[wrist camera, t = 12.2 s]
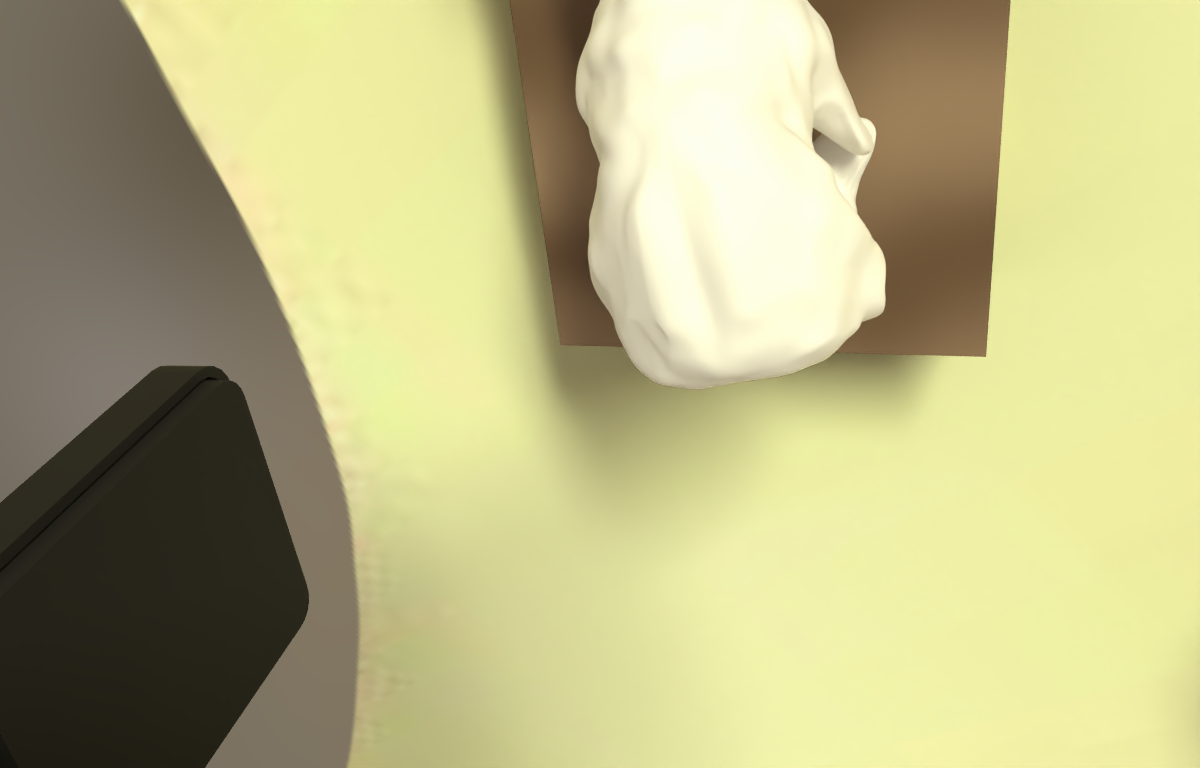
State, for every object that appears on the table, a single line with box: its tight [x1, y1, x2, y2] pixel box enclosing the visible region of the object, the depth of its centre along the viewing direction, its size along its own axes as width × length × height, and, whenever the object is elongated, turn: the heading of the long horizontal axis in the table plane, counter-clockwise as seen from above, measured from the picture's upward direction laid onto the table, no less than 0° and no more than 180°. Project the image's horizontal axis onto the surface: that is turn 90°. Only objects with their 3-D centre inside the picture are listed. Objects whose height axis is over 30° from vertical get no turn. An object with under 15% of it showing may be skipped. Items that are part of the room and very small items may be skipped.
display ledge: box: [510, 0, 1010, 357], centre depth 28 cm, size 18×12×8 cm, turn 7°
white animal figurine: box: [576, 0, 886, 390], centre depth 25 cm, size 6×8×12 cm
